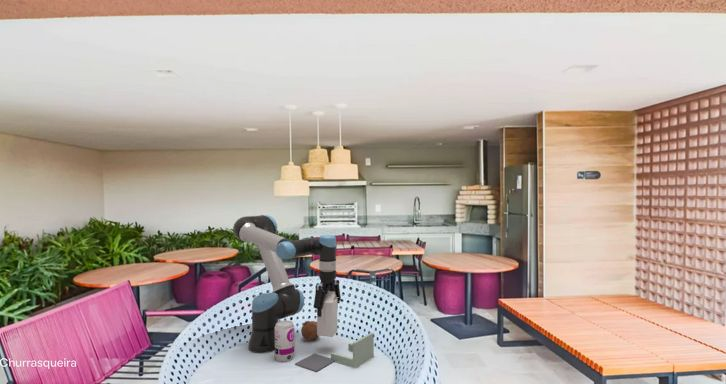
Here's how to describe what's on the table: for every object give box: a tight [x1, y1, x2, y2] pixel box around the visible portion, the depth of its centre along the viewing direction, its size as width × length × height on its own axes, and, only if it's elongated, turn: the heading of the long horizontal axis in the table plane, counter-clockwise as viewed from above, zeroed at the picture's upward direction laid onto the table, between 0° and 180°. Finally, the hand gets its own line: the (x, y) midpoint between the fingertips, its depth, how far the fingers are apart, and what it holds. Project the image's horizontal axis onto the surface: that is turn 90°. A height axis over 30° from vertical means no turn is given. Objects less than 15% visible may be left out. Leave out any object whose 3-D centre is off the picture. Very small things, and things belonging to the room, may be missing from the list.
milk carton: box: [316, 291, 338, 338], centre depth 170 cm, size 7×7×19 cm
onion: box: [301, 320, 319, 341], centre depth 184 cm, size 10×9×10 cm
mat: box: [294, 353, 336, 373], centre depth 158 cm, size 12×12×1 cm
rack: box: [330, 332, 375, 369], centre depth 162 cm, size 13×13×10 cm
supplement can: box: [274, 320, 295, 363], centre depth 163 cm, size 8×8×15 cm
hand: (327, 320), depth 170 cm, fingers closed on milk carton, 9 cm apart
